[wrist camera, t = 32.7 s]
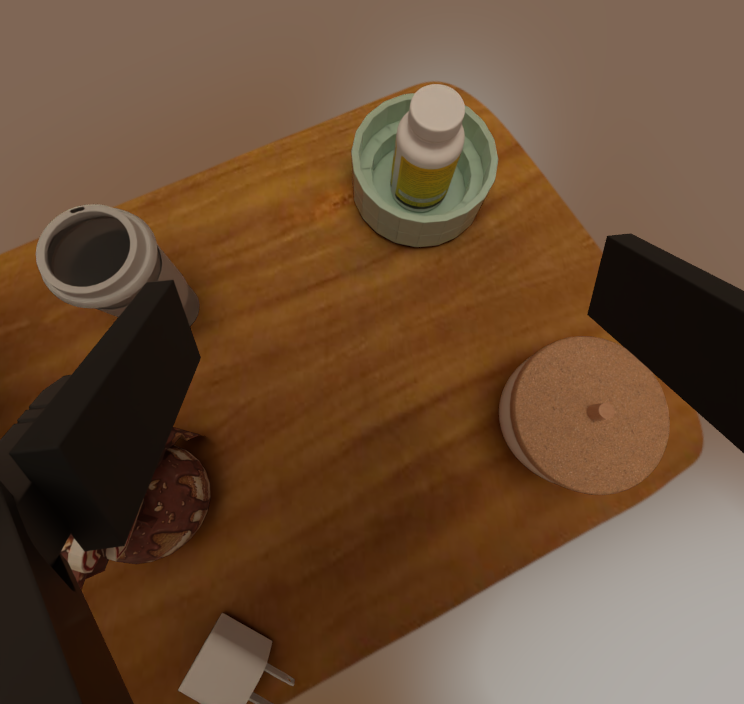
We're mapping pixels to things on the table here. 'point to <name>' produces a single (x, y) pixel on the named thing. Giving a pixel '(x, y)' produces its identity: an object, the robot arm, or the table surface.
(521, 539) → the table surface
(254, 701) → the usb wall charger
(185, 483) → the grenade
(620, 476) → the trinket box
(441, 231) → the sage bowl
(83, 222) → the cup
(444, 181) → the supplement bottle
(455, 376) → the table surface
